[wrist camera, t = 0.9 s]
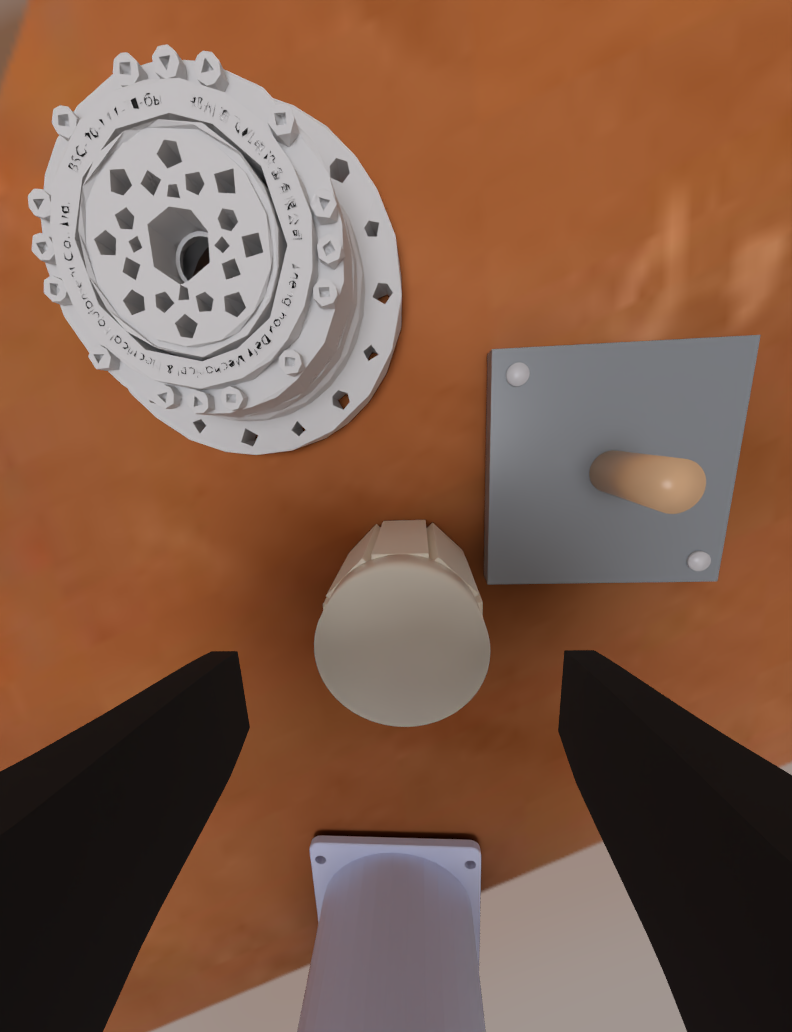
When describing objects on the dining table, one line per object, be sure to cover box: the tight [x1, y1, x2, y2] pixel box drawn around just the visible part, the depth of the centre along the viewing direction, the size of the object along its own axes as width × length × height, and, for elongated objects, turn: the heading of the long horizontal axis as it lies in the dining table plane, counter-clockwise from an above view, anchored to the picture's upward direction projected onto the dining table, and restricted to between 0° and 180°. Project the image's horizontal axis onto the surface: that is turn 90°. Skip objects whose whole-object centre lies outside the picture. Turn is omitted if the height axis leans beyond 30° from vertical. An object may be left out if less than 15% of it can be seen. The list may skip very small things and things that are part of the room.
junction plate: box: [484, 335, 760, 584], centre depth 11 cm, size 8×8×4 cm
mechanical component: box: [28, 45, 402, 455], centre depth 11 cm, size 10×4×10 cm
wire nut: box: [314, 520, 490, 727], centre depth 12 cm, size 5×5×5 cm
